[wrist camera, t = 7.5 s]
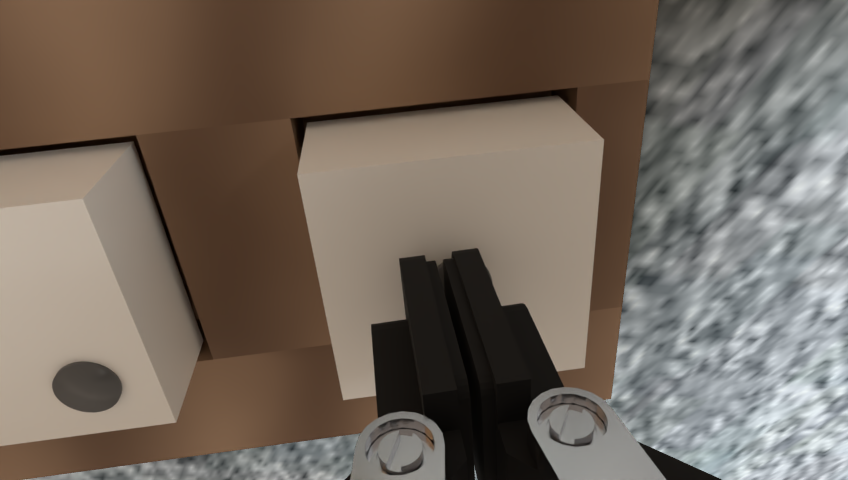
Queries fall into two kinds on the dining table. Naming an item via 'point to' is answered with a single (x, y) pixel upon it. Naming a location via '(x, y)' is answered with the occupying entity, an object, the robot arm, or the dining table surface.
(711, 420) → the dining table surface
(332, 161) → the tile one
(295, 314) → the panel
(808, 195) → the dining table surface
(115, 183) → the tile two
